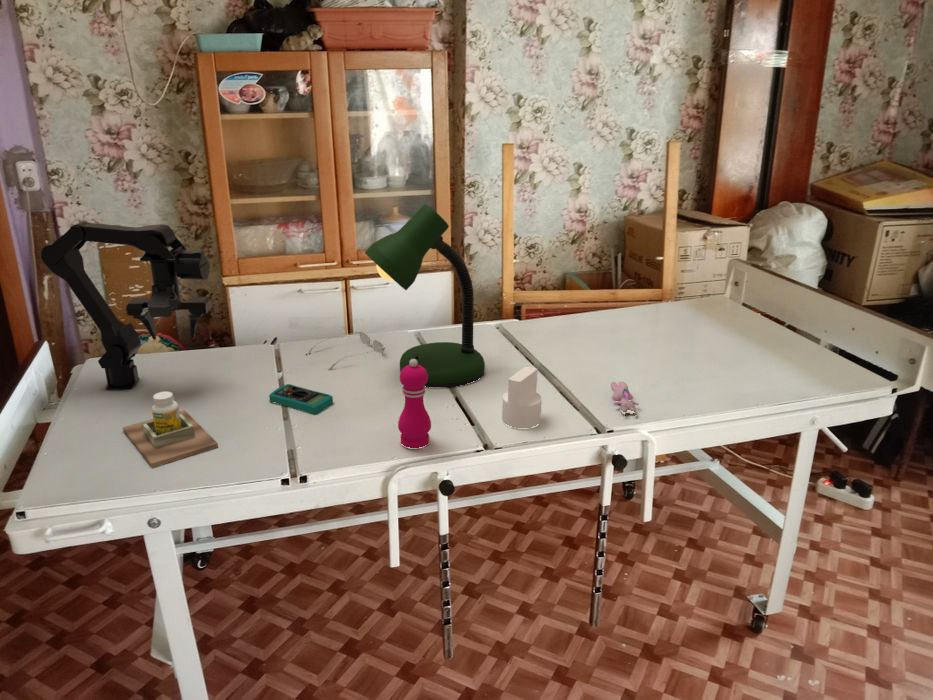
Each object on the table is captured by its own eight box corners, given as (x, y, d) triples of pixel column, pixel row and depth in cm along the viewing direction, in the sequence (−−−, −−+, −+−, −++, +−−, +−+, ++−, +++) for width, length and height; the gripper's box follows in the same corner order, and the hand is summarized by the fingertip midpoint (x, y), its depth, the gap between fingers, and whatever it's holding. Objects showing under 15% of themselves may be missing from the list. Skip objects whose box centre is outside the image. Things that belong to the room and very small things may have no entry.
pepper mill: (398, 435, 169) (396, 353, 162) (430, 434, 170) (429, 352, 163) (398, 451, 163) (396, 366, 155) (432, 450, 163) (431, 365, 156)
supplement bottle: (184, 428, 169) (178, 389, 166) (179, 439, 164) (173, 399, 161) (159, 429, 169) (153, 390, 165) (153, 441, 164) (146, 401, 160)
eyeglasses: (386, 358, 212) (386, 345, 210) (328, 373, 202) (327, 359, 200) (359, 341, 223) (359, 329, 222) (303, 355, 213) (302, 342, 212)
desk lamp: (381, 398, 187) (375, 218, 170) (361, 364, 207) (353, 199, 190) (496, 381, 197) (501, 209, 180) (466, 350, 217) (468, 193, 200)
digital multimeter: (287, 391, 191) (286, 381, 190) (334, 404, 184) (333, 393, 183) (267, 403, 185) (266, 392, 184) (315, 416, 178) (314, 405, 177)
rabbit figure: (642, 423, 179) (627, 387, 192) (645, 402, 176) (630, 367, 189) (616, 423, 179) (603, 387, 192) (619, 403, 176) (605, 368, 188)
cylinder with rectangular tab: (529, 433, 171) (531, 385, 166) (495, 423, 175) (496, 376, 171) (547, 418, 178) (549, 371, 174) (513, 408, 182) (515, 363, 178)
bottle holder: (123, 431, 170) (120, 417, 169) (185, 413, 178) (183, 400, 177) (152, 467, 156) (149, 452, 154) (218, 447, 164) (216, 432, 162)
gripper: (113, 289, 173) (124, 352, 179) (196, 287, 175) (204, 350, 181) (129, 275, 184) (139, 335, 190) (207, 274, 185) (215, 333, 191)
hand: (173, 338), depth 187 cm, fingers open, 9 cm apart
